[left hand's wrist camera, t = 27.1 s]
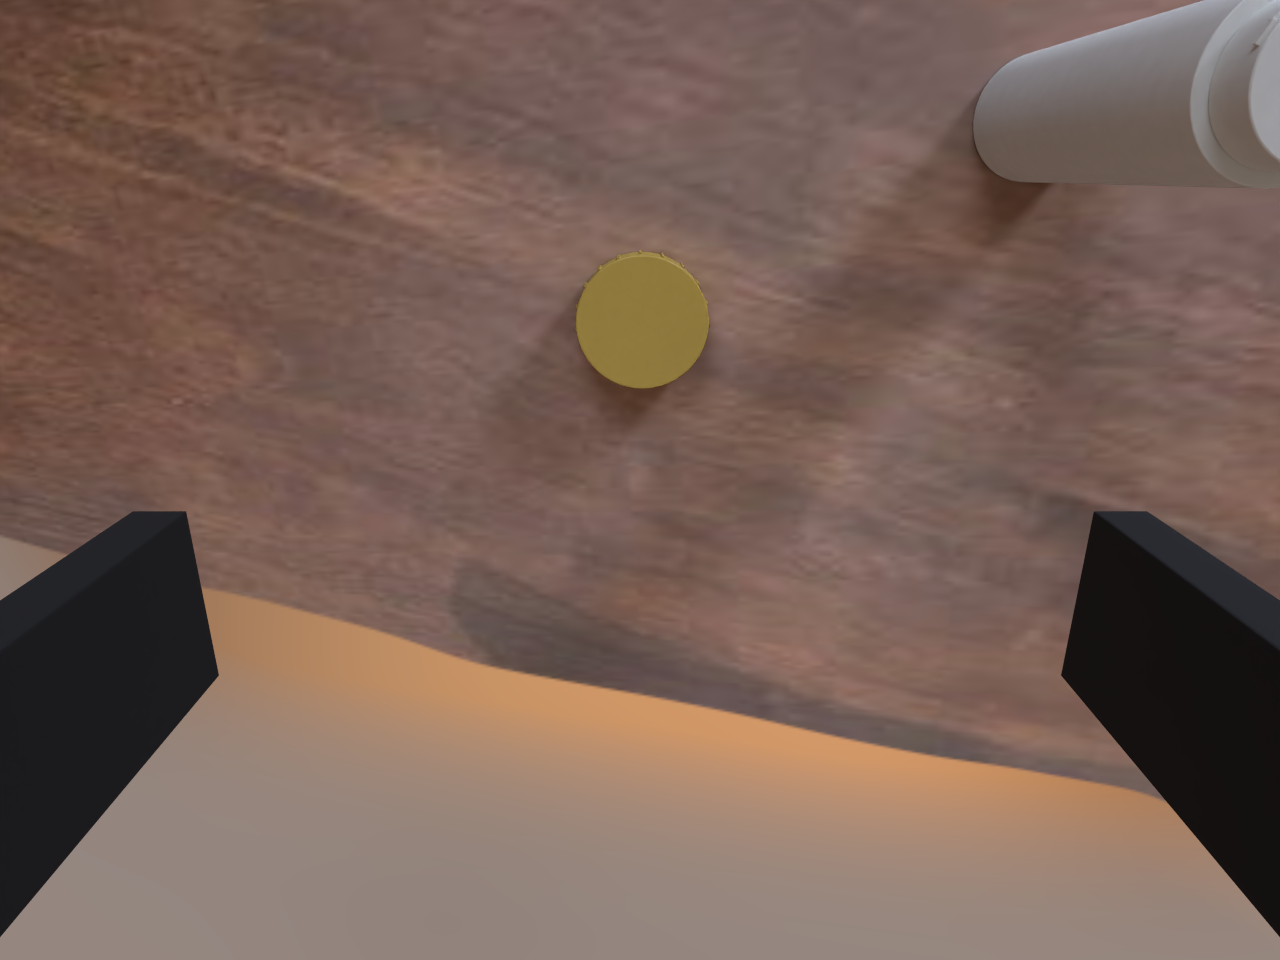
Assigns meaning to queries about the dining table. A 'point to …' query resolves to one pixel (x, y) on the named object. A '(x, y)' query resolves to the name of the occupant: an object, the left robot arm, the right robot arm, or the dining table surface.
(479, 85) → the dining table surface
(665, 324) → the lid
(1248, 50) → the jar
